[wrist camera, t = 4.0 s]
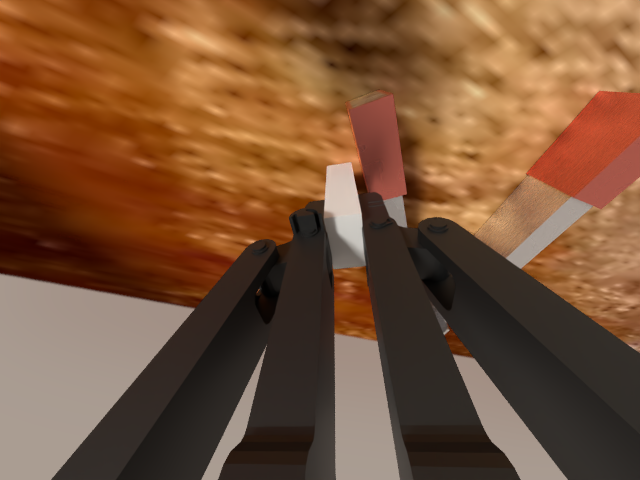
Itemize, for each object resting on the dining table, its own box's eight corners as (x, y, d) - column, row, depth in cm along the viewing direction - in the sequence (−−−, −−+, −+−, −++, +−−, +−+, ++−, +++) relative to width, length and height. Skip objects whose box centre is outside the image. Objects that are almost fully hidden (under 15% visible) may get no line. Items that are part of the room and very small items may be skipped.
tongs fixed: (425, 311, 24) (442, 353, 21) (382, 299, 24) (391, 340, 20) (626, 104, 13) (736, 116, 10) (557, 69, 13) (649, 67, 9)
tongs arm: (410, 281, 22) (423, 315, 19) (389, 285, 22) (398, 319, 19) (379, 89, 13) (393, 93, 10) (345, 102, 14) (349, 110, 11)
